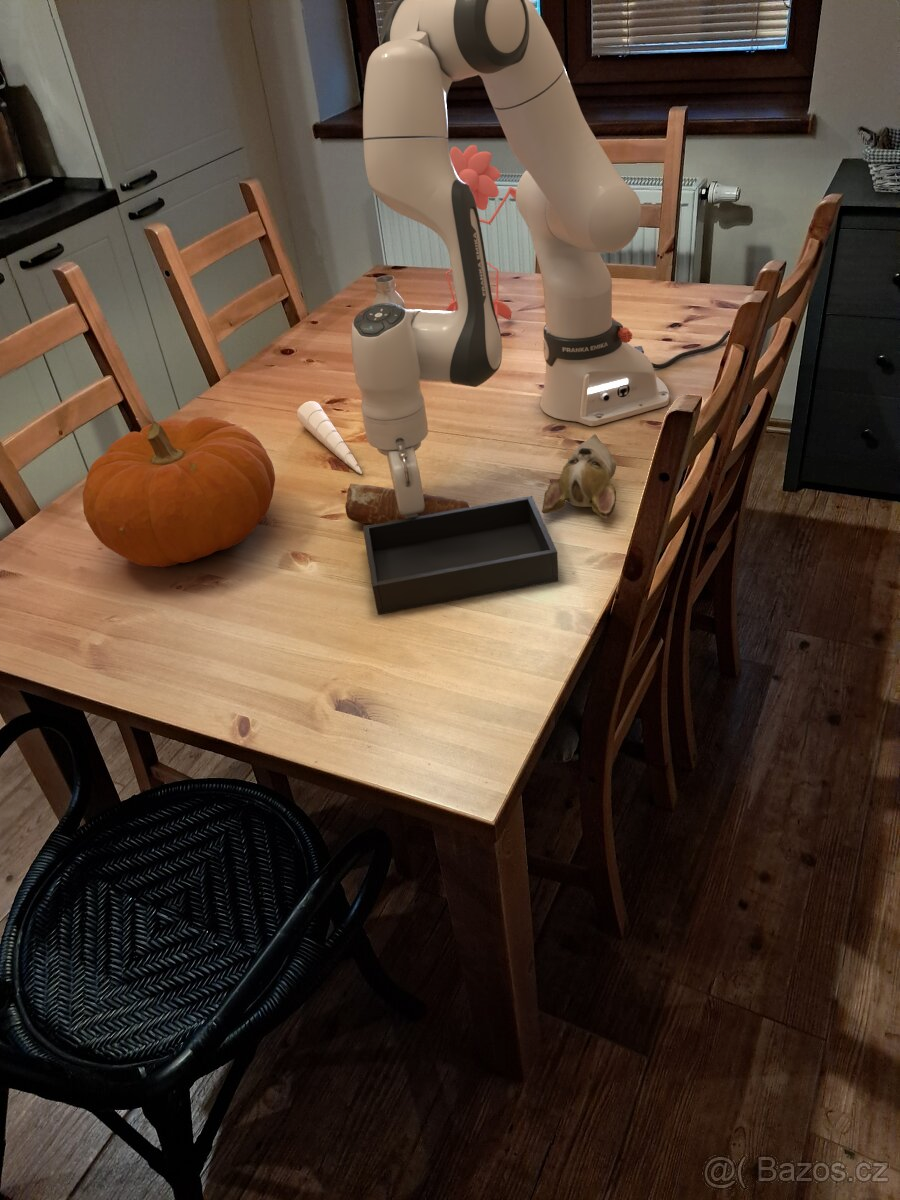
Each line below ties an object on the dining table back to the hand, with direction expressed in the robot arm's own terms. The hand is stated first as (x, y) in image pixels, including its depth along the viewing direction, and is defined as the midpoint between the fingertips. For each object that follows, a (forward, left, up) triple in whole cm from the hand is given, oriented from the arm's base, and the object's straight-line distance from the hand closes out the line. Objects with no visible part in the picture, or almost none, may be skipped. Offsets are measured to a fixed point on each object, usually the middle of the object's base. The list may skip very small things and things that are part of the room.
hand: (409, 508), depth 136 cm
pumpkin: (+33, -6, -3) cm, 33 cm away
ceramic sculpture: (-26, +3, -3) cm, 27 cm away
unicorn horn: (+10, -28, -3) cm, 30 cm away
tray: (-5, +14, -2) cm, 15 cm away
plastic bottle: (-4, -50, -3) cm, 50 cm away
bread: (0, 0, -3) cm, 3 cm away
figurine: (-25, -74, -3) cm, 78 cm away
